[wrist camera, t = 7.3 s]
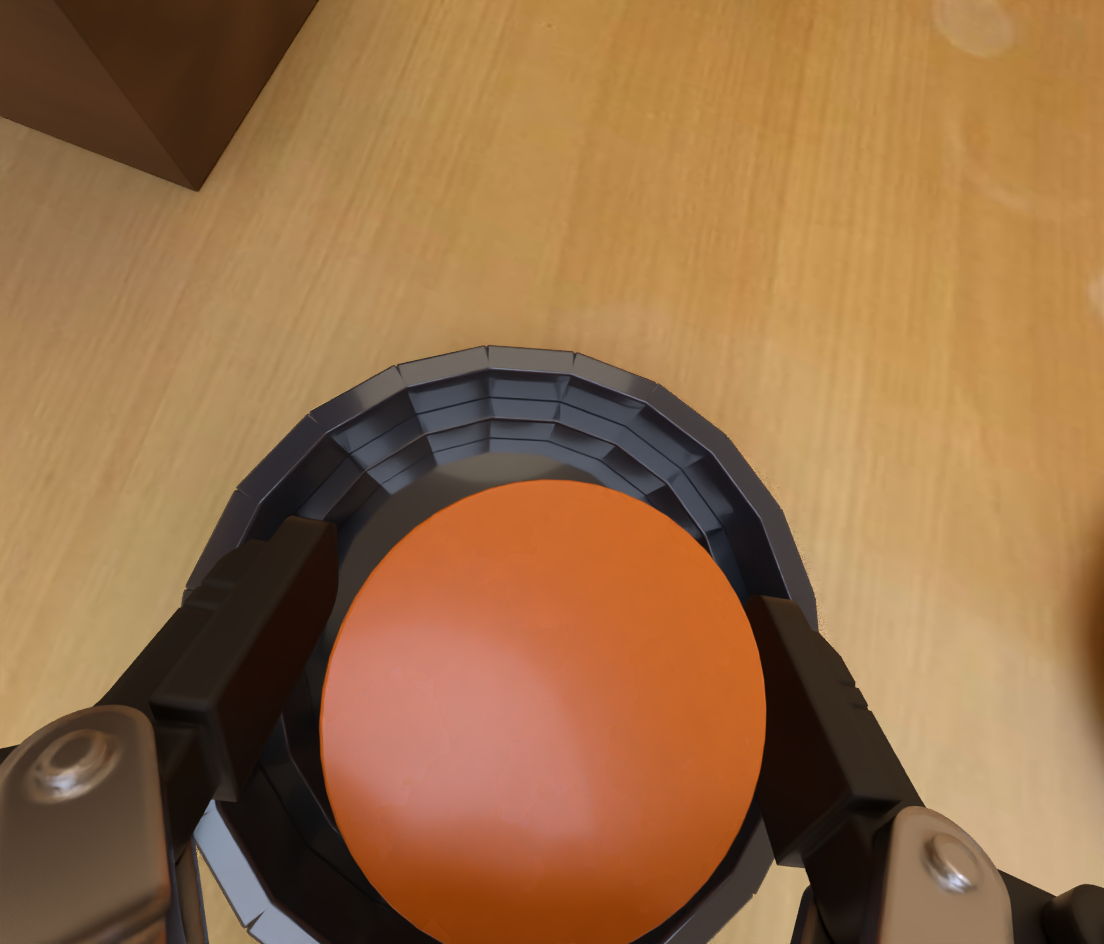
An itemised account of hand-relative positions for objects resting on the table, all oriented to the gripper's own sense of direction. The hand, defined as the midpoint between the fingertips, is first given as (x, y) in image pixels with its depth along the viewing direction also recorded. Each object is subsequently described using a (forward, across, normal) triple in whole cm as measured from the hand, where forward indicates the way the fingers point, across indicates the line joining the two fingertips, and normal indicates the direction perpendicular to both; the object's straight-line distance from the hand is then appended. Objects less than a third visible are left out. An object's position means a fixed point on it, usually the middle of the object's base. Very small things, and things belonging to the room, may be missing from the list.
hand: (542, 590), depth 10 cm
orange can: (+3, 0, +5) cm, 6 cm away
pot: (+4, 0, +5) cm, 6 cm away
